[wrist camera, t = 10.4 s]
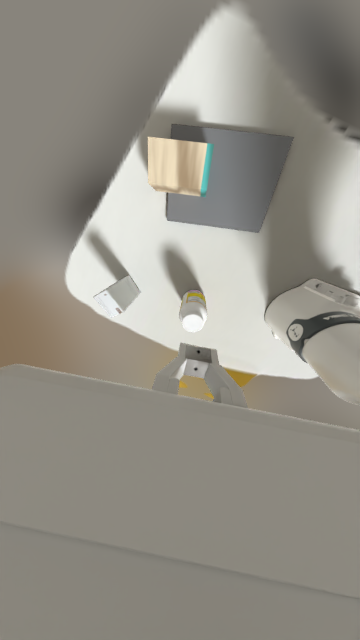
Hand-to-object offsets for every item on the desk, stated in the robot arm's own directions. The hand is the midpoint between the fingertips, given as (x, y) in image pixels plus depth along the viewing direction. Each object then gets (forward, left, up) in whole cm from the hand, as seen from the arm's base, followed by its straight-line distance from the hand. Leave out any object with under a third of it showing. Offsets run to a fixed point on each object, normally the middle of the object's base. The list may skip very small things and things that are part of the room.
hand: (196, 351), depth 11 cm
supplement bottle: (0, +8, -29) cm, 30 cm away
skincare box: (+19, +7, -29) cm, 35 cm away
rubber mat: (-1, -17, -29) cm, 33 cm away
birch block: (+1, -17, -25) cm, 31 cm away
